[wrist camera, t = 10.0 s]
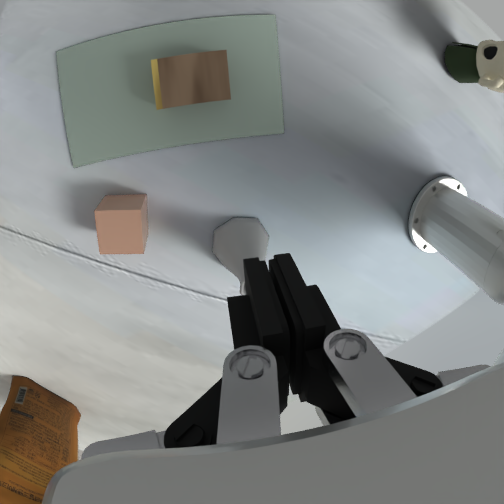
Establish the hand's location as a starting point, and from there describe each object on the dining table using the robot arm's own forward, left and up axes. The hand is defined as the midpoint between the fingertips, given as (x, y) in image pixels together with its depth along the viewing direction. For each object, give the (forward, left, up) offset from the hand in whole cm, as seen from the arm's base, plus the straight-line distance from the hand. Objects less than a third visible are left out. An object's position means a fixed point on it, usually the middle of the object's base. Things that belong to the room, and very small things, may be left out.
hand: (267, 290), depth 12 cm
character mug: (-35, -12, -26) cm, 45 cm away
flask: (-2, +12, -26) cm, 29 cm away
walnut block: (+5, -8, -23) cm, 25 cm away
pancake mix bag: (+39, +38, -26) cm, 60 cm away
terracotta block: (+11, +6, -26) cm, 29 cm away
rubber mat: (+4, -8, -26) cm, 27 cm away
